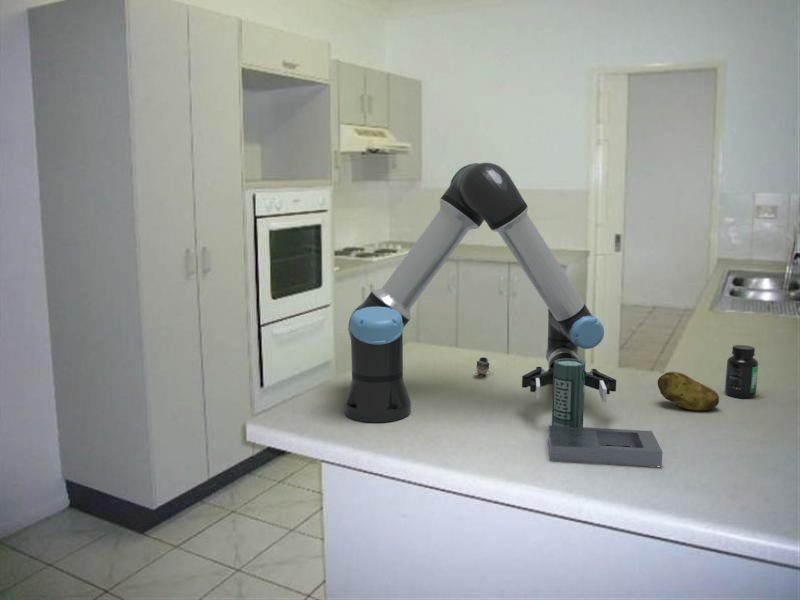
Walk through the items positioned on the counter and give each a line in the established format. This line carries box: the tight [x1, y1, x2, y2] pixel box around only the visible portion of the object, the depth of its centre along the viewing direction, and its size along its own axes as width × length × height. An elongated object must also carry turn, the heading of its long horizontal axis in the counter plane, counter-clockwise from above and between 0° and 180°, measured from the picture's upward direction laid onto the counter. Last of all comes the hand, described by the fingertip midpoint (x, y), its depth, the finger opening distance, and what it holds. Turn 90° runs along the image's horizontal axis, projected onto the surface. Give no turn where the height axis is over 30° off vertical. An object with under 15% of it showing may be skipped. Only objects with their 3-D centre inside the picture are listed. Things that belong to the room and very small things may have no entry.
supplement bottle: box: [724, 344, 759, 400], centre depth 170 cm, size 7×7×12 cm
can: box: [551, 358, 586, 427], centre depth 146 cm, size 6×6×15 cm
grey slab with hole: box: [548, 425, 664, 468], centre depth 135 cm, size 20×11×3 cm, turn 80°
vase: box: [474, 357, 494, 377], centre depth 187 cm, size 5×5×6 cm
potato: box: [657, 371, 720, 411], centre depth 161 cm, size 8×13×8 cm, turn 51°
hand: (571, 394), depth 147 cm, fingers open, 13 cm apart
